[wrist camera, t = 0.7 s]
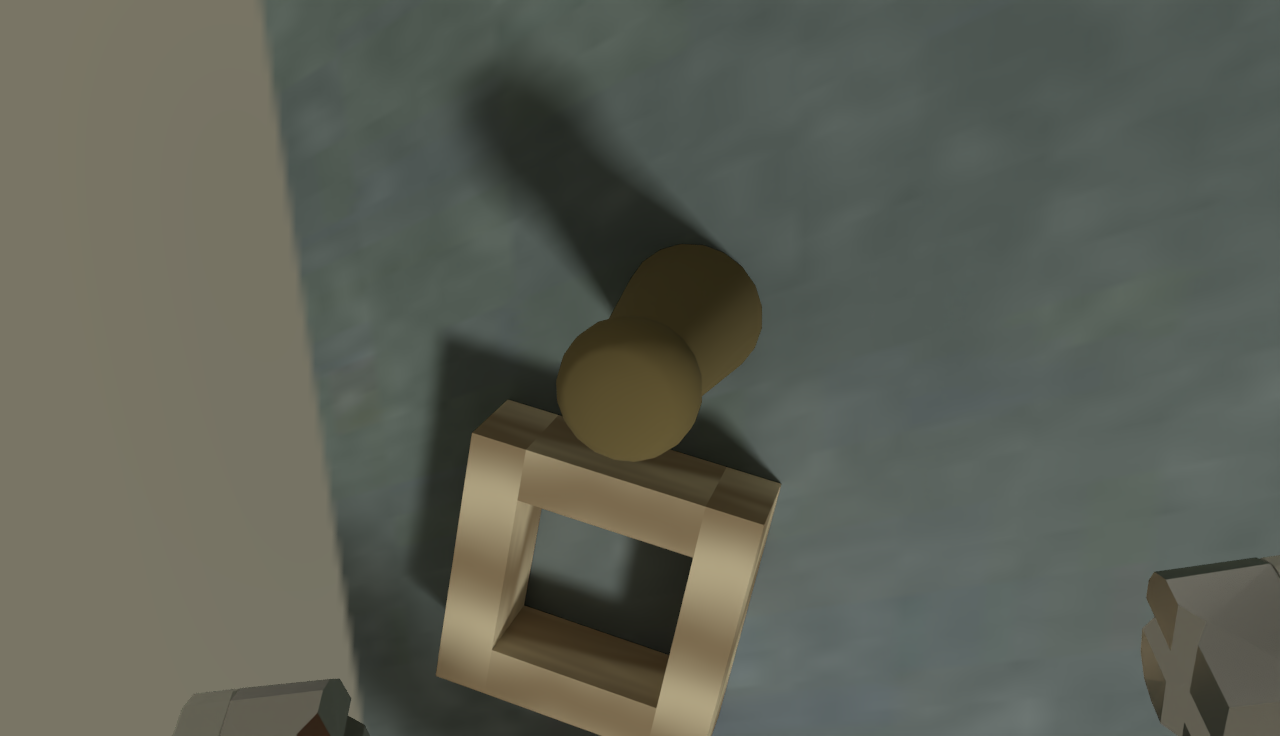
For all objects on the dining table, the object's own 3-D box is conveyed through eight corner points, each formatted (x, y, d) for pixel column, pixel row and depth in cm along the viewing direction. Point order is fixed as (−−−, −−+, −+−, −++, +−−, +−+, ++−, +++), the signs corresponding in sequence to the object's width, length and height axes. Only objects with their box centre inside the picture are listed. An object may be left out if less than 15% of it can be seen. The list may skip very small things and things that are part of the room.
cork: (616, 362, 52) (524, 463, 42) (633, 230, 50) (540, 305, 40) (750, 393, 51) (686, 505, 41) (773, 259, 49) (713, 344, 39)
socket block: (507, 399, 55) (471, 432, 51) (781, 483, 52) (764, 525, 48) (470, 630, 60) (435, 675, 56) (718, 717, 57) (698, 770, 54)
